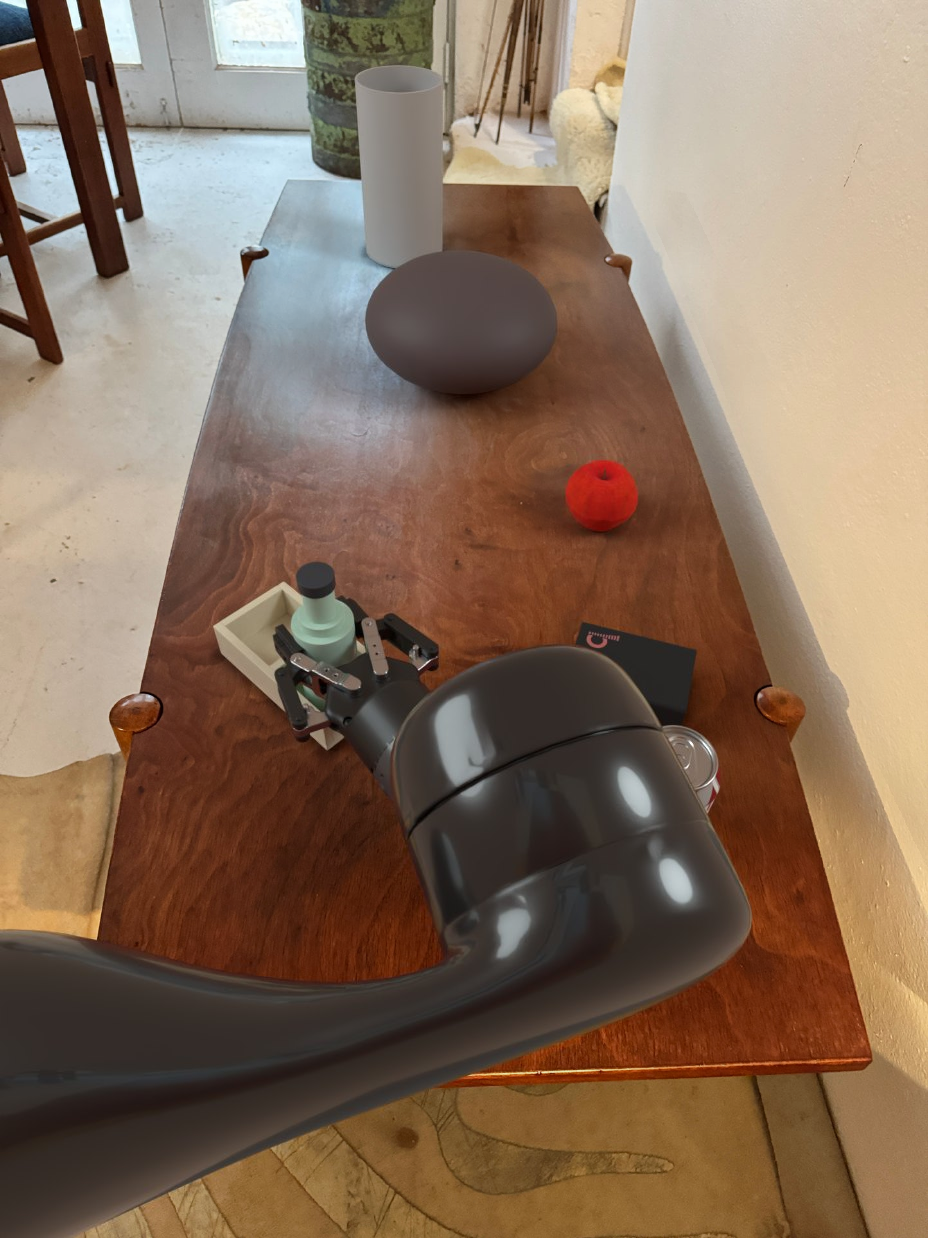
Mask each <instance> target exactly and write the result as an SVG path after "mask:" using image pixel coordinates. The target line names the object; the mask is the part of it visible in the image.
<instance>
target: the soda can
mask: <svg viewBox="0 0 928 1238" xmlns="http://www.w3.org/2000/svg"><path fill="white" fill-rule="evenodd" d="M663 729H664V732H665V736H667V737H668V739H669V741H670V743H671V745H672V747H673V748H674V750H675V752H676V754H677V756H678V758H679V760H680V762H681V764H682V766H683V768H684V770H685V772H686V773H687V775H688V777H689V779H690V781H691V783H692V785H693V787H694V789H695V791H696V793H697V795H698V797H699V799H700V800H701V802H702V804H703V806H704V808H705V810H706V812H707V814H708V815H709V812H710V810H711V808H712V805H713V804H714V802H715V799H716V797H717V795H718V793H719V791H720V789H721V783H722V774H721V769H720V765H719V758H718V755H717V751H716V749H715V748H714V746H713V745H712V743H711V742H710V741H709V739H707V738H706V737H705V736H704V735H703V734H702V733H699V732H698V731H696V730H694V729H692V728H690V727H687V726H683V725H681V726H677V725H668V726H663Z"/></svg>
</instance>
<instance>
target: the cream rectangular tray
mask: <svg viewBox="0 0 928 1238" xmlns="http://www.w3.org/2000/svg"><path fill="white" fill-rule="evenodd" d="M302 604H303V600H302V594H301V593H300V592H299V591H298V592H297V591H296V590H295V588H293V587H292V586H290V585H289V584H288V583H287V582H286V581H282V582H280V583H279V584H278V585H275V586H273V587H272V588H271V589H269V590H268V591H265V593H263V594H261V595H260V596H258V597H257V598H255V599H253V600H252V601H250V602H248V603H247V604H246V605H244V606H242V607H241V608H239V609H237V610H236V611H234V612H233V613H231V614H229V615H228V616H226V617H224V618H223V619H222V620H220V621H218V622H217V623H216V624H214V625H213V626H212V627H213V631H214V634H215V637H216V640H217V644H218V647H219V651H220V654H221V655H222V656H223V657H225V659H226V660H228V661H229V662H230V663H231V664H232V665H233V666H234V667H236V669H238V670H239V671H240V673H242V674H243V675H244V676H245V677H246V678H247V679H248V680H249V681H250V682H251V683H252V684H254V685H255V686H256V687H257V688H258V689H259V690H261V691H262V692H263V693H264V694H265V695H266V696H267V697H268V698H269V699H270V700H271V701H273V703H275V705H277V707H279V708H280V709H281V710H282V711H283V712H285V709H284V707H283V704H282V701H281V699H280V696H279V693H278V686H277V682H276V680H275V676H274V672H275V671H276V670H277V669H278V668H282V667H285V666H286V664H285V662H284V661H283V660H282V658H281V657H280V656H279V654H278V653H277V652H276V649H275V645H274V641H273V635H274V634H276V632H275V627H276V626H279V625H281V624H283V625H284V626H285V627H286V628H287V630H288V631H289V632H290V633H291V635H292V636H293V634H292V629H291V619H292V616H293V614H294V613H295V611H296V610H297V609H298V608H299V607H300V606H302ZM356 641H357V650H358V656H359V655H361V654H363V653H365V652H366V651H365V647H364V644H362V643H361V642H360V641H358V639H356ZM295 688H296V690H297V693H298V695H299V698H300V701H301V703H302V705H303V704H305V703H307V704H308V705H310V706H312V707H313V708H314V710H315V711H317V712H321V711H319V710H318V709H317V708H316V707H315V706H314V705H313V704H312V703H310V702H309V701H308V700H307V699H306V698H305V694H304V689H303V685H302V684H300V683H299V684H298V685H297V686H296V687H295ZM310 737H312V739H314V740H315V741H316V742H317V743H318V744H319V745H320V746H321V747H323V749H325V750H326V751H329V750H330V749H331V748H333V747H334V746H335V745H337V744H338V743H339V742H340V741H342V740H343V739H345V737H344V736H343V735H341V734H340V733H338V732H336V731H334V730H332V729H330V728H329V727H327V728H324V729H321V730H318V731H315V732H312V733H310Z"/></svg>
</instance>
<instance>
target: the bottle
mask: <svg viewBox="0 0 928 1238" xmlns="http://www.w3.org/2000/svg"><path fill="white" fill-rule="evenodd" d="M296 571H297V572H296V573H295V581H296V586H297V591H298V593H299V594H300V595H301V596H302V600H303V604H302V606H300V607H299V608H298V609H297V610H296V611H295V613H294V614H293V616H292V619H291V629H292V634H293V637H294V639H295V641H296V642H297V643H298V644H299V645H300V646H301V648H302V649H303V654H304V655H306V656H308V657H310V658H311V659H313V660H315V661H317V662H319V661H323V662H325V663H327V664H329V665H331V666H333V667H334V668H336V667H338V666H340V665H343V664H347V663H350V662H352V661H353V660H354V659H355V658H356V657H358V650H357V641H358V640H357V637H356V633H355V624H354V616H353V613H352V611H351V609H350V608H349V607H348V606H347V605H346V604H344V603H343V602H341V601H338V600H336V599H335V598H336V595H335V594H336V593H335V589H336V586H337V581H336V575H335V570H334V568H333V567H332V566H331V565H329V564H328V563H326V562H322V561H310V562H307V563H305V564H303V565H302V566H300V567H299V568H298V570H296ZM356 640H357V641H356ZM303 689H304V694H305V698H306V699H307V700H308V701H309V702H310V703H312V704H313V705H314V706H315V707H316V708H317V709H318V710H319V711H321V712H324V707H325V700H323V699H321V698H319V697H318V696H316V695H315V693H314V692H313V691H312V690H311V689H309V688H308V687H306V686H304V685H303Z"/></svg>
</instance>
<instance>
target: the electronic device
mask: <svg viewBox="0 0 928 1238" xmlns="http://www.w3.org/2000/svg"><path fill="white" fill-rule="evenodd" d="M574 645H579V646H583V647H586V648H589V649H592V650H595V651H598V652H601V653H602V654H604V655H606V656H607V657H608V658H610V659H611V660H613V661H614V662H615V663H617V664H618V665H619V666H621V667H622V668H623V669H624V670H625V672H626V673H627V674H628V675H629V676H630V678H631V679H632V680H633V682H634V683H635V685H636V686H637V687H638V689H639V690H640V691H641V693H642V694H643V695H644V697H645V698H646V700H647V701H648V703H649V704H650V706H651V708H652V709H653V711H654V713H655V715H656V716H657V718H658V720H659V722H660V724H661V725H662V727H663V726H668V725H677V726H683V722H684V719H685V716H686V713H687V709H688V705H689V704H688V703H689V698H690V693H691V687H692V682H693V676H694V670H695V664H696V658H697V653H698V650H697V649H696V648H692V647H687V646H682V645H679V644H674V643H671V642H667V641H662V640H658V639H654V638H650V637H646V636H642V635H638V634H634V633H630V632H626V631H622V630H618V629H614V628H610V627H606V626H602V625H598V624H594V623H591V622H590V623H589V622H586V621H581V624H580V627H579V631H578V634H577V638H576V641H575V644H574Z"/></svg>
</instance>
